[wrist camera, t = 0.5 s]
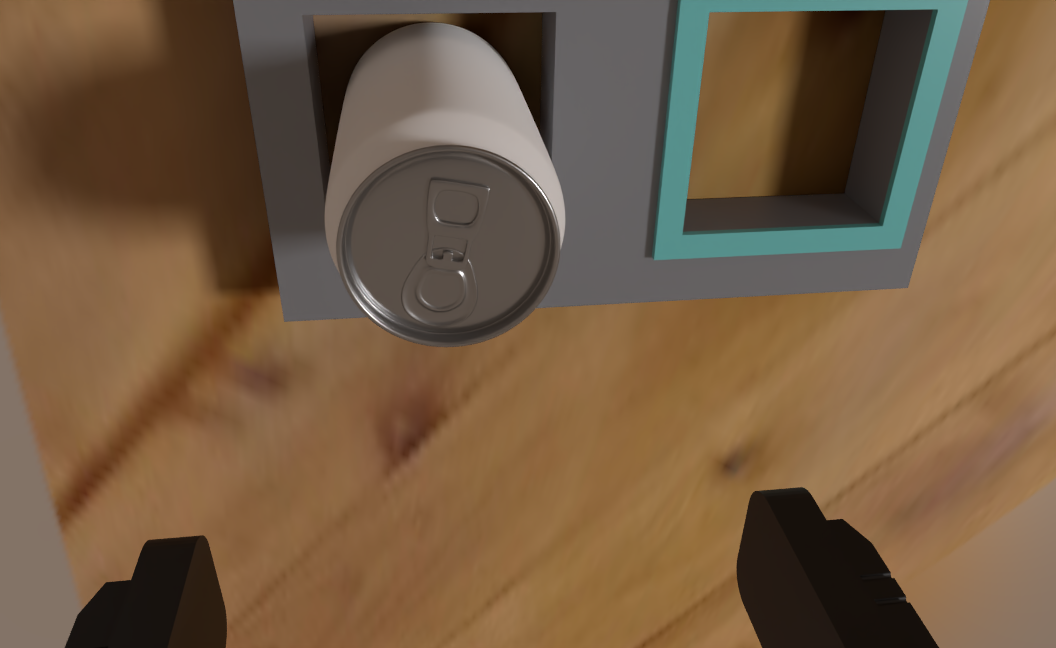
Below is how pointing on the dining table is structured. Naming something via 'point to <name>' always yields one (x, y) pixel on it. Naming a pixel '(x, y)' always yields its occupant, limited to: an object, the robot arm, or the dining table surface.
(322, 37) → the dining table surface
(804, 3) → the dock panel
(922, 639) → the robot arm
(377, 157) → the can
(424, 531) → the dining table surface
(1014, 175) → the dining table surface
